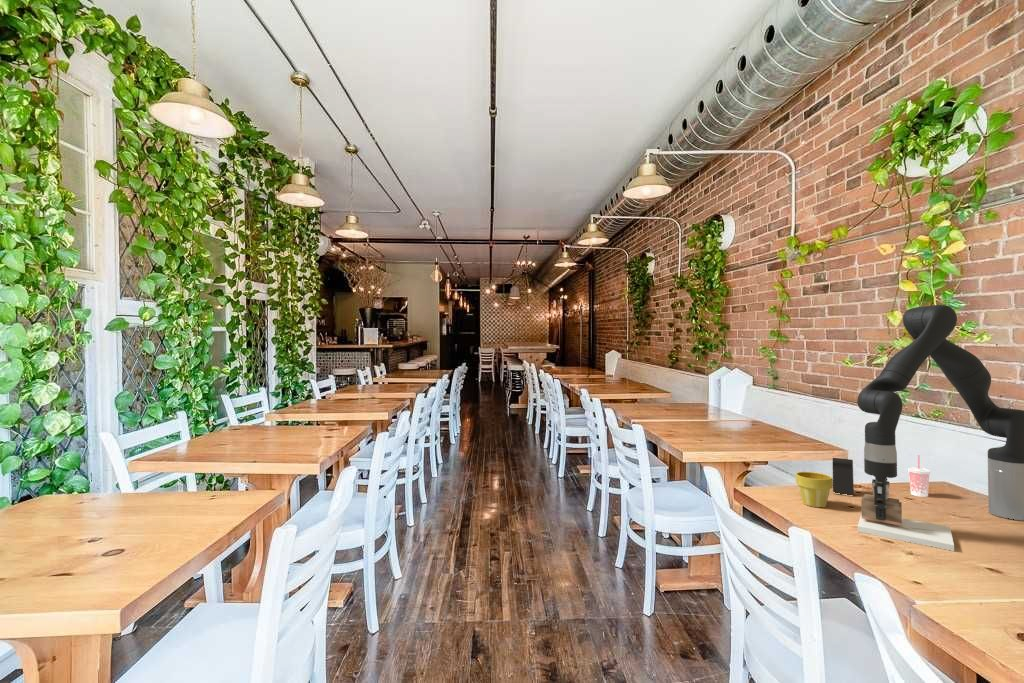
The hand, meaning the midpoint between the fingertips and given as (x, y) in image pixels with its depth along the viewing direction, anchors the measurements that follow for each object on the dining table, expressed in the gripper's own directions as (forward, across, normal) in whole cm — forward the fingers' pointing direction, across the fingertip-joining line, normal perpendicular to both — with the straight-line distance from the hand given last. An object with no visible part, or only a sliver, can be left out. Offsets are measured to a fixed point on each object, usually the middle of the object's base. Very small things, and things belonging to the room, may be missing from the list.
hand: (881, 516), depth 135 cm
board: (+3, 0, -5) cm, 6 cm away
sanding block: (+1, 0, 0) cm, 1 cm away
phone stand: (+4, +33, +12) cm, 35 cm away
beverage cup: (+4, +46, -9) cm, 47 cm away
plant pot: (+3, +11, +18) cm, 21 cm away
